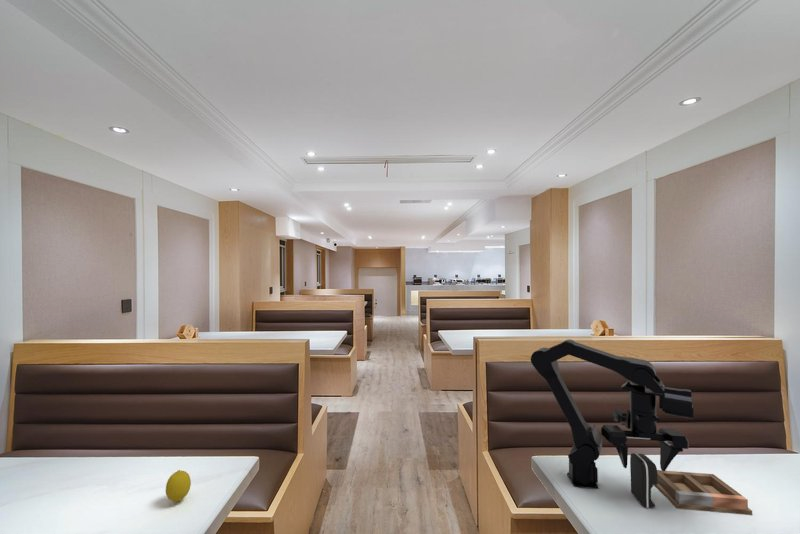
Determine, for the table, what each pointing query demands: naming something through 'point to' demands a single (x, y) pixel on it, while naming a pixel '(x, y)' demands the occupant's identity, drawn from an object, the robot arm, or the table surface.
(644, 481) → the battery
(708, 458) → the table surface
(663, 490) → the dock
